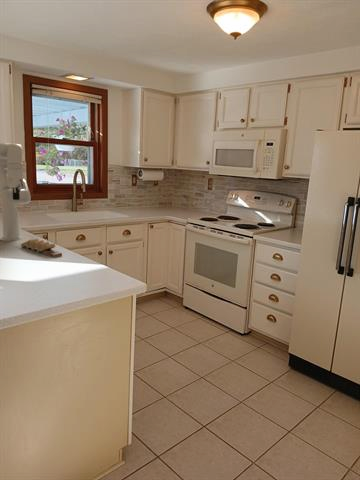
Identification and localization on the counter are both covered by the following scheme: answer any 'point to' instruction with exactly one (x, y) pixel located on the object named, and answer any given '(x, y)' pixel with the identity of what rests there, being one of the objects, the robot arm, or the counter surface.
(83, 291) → the counter surface
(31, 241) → the domino
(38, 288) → the counter surface
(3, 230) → the robot arm
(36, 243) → the domino
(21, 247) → the board
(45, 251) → the domino
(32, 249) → the domino
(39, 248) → the domino
